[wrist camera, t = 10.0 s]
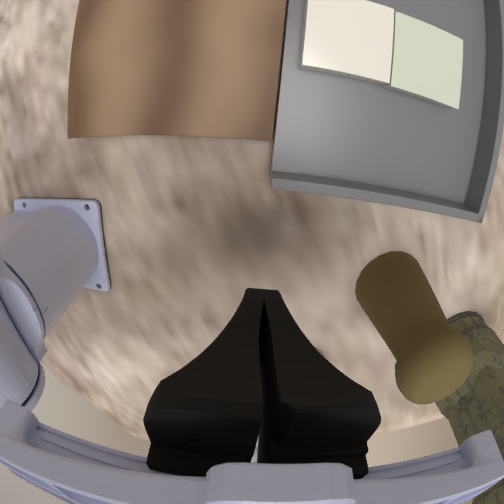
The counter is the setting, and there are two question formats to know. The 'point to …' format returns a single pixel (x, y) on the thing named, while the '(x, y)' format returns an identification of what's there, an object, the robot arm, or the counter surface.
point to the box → (395, 122)
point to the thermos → (479, 393)
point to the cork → (414, 328)
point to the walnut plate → (175, 68)
